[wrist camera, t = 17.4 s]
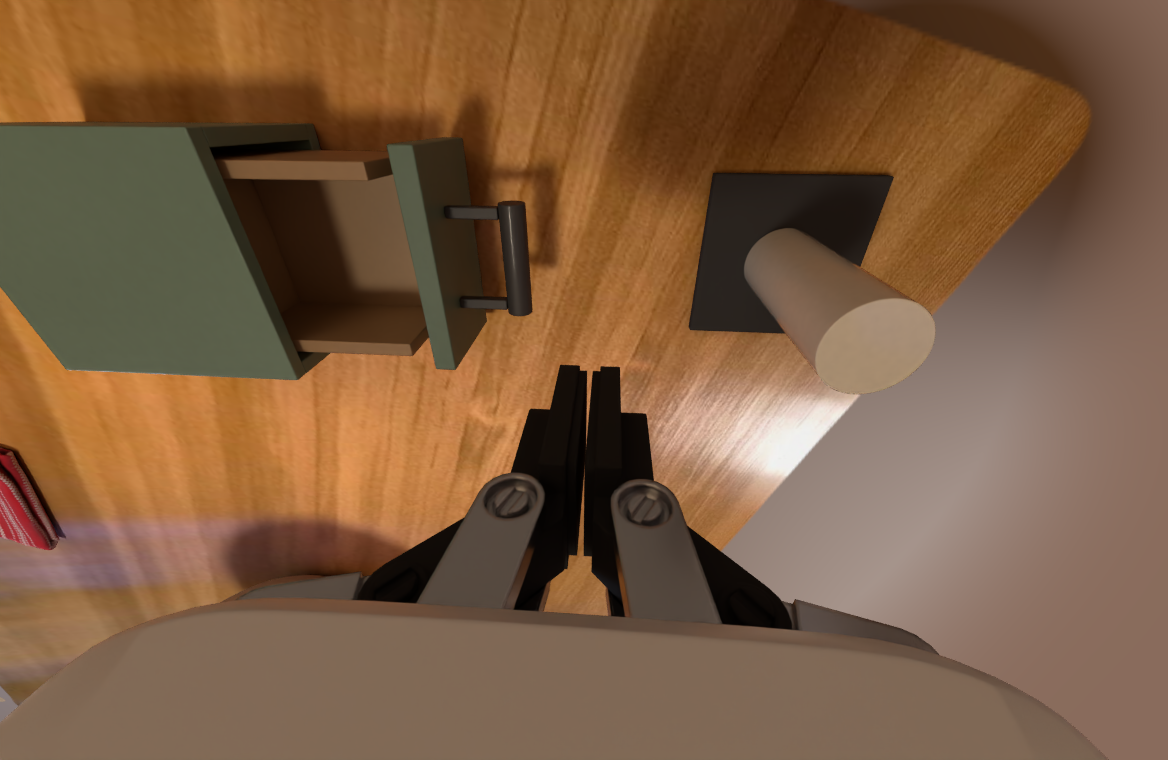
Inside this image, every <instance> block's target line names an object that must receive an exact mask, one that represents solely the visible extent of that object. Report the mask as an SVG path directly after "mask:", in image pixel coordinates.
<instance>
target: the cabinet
mask: <svg viewBox="0 0 1168 760" xmlns="http://www.w3.org/2000/svg"><path fill="white" fill-rule="evenodd" d="M238 149H250V150H321V148H320V145H319V142H318V138H317V135H316V132H315V128H314V125H313V124H306V123H181V122H11V123H0V287H1V288H2V290H3V291H4V292H5V293H6V295H7V296H8V297H9V298H10V300H11V301H12V302H13V303H14V305H15V306H16V307H17V308H18V310H19V311H20V312H21V313H22V315H23V316H24V317H25V318H26V320H27V321H28V322H29V323H30V325H31V326H32V327H33V329H34V330H35V331H36V332H37V334H38V335H39V336H40V337H41V339H42V340H43V341H44V342H45V344H46V345H47V346H48V347H49V349H50V350H51V351H52V352H53V354H54V355H55V356H56V357H57V359H58V360H59V361H60V362H61V364H62V365H63V366H64V367H65V369H67V370H81V371H104V372H126V373H149V374H171V375H193V376H216V377H238V378H261V379H283V380H298V379H300V378H301V377H302V376H303V375H304V374H305V373H307V372H308V371H309V370H311V369H312V368H313V367H314V366H315V365H317V364H318V363H319V362H320V361H322V360H323V359H324V358H325V357H326V356H328V355H329V354H330V353H325V352H300V351H296V349H295V347H294V344H293V342H292V340H291V337H290V335H289V333H288V330H287V328H286V326H285V323H284V321H283V319H282V316H281V314H280V312H279V309H278V307H277V305H276V302H275V300H274V298H273V295H272V293H271V291H270V288H269V286H268V284H267V281H266V279H265V277H264V274H263V272H262V270H261V267H260V265H259V263H258V260H257V258H256V256H255V253H254V251H253V248H252V246H251V244H250V241H249V239H248V237H247V234H246V232H245V230H244V227H243V225H242V223H241V220H240V218H239V216H238V213H237V211H236V209H235V206H234V204H233V202H232V199H231V197H230V195H229V192H228V190H227V188H226V185H225V183H224V181H223V178H222V176H221V174H220V171H219V169H218V167H217V164H216V162H215V160H214V157H213V155H212V153H211V152H215V151H226V150H238Z"/></svg>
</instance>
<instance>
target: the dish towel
mask: <svg viewBox="0 0 1168 760" xmlns="http://www.w3.org/2000/svg"><path fill="white" fill-rule="evenodd" d="M0 537H2V538H5V539H10V540H13V541H16V542H18V543H21V544H24V545H27V546H32V547H36V548H40V549H44V550H52V549H54V548H55V547H56V545H57V543H58V541H59V537H58V535H57V534H56V532H55V530H54V527H53V525H52V523H51V522H50V520H49V518H48V516H47V514H46V513H45V510H44V508H43V507H42V505H41V503H40V501H39V499H38V497H37V495H36V494H35V492H34V490H33V488H32V486H31V484H30V482H29V480H28V479H27V477H26V475H25V473H24V472H23V470H22V468H21V467H20V466H19V464H18V462H17V460H16V458H15V456H14V454H13V452H12V451H10V450H6V449H3V448H0Z"/></svg>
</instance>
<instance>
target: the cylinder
mask: <svg viewBox="0 0 1168 760" xmlns="http://www.w3.org/2000/svg"><path fill="white" fill-rule="evenodd" d="M744 275H745V279H746V282H747V284H748V285H749V287H750V288H751V289H752V291H753V292H754V293H755V294H756V296H757V297H758V298H759V300H760V301H761V302H762V304H763V305H764V306H765V307H766V309H767V310H768V311H769V313H770V314H771V315H772V317H773V318H774V319H775V320H776V322H777V323H778V324H779V326H780V327H781V328H782V330H783V331H784V332H785V333H786V335H787V336H788V337H789V339H790V340H791V341H792V343H793V344H794V345H795V346H796V348H797V349H798V350H799V352H800V353H801V354H802V356H803V357H804V358H805V359H806V361H807V362H808V363H809V365H810V366H811V367H812V369H813V370H814V371H815V372H816V374H817V375H818V376H819V378H820V379H821V380H822V381H823V382H824V383H825V384H826V385H827V386H829V387H830V388H832V389H834V390H836V391H839V392H842V393H847V394H867V393H872V392H877V391H880V390H884V389H886V388H889V387H891V386H893V385H895V384H897V383H899V382H901V381H902V380H904V379H905V378H907V377H908V376H910V375H911V374H912V373H913V372H914V371H915V370H917V369H918V368H919V367H920V365H921V364H922V363H923V362H924V361H925V359H926V358H927V356H928V355H929V353H930V351H931V349H932V347H933V344H934V340H935V335H936V328H935V323H934V320H933V318H932V315H931V314H930V313H929V311H928V310H927V309H926V308H925V307H923V306H922V305H920V304H919V303H917V302H916V301H914V300H912V299H911V298H909V297H908V296H906V295H904V294H903V293H901V292H900V291H898V290H896V289H895V288H893V287H892V286H890V285H888V284H887V283H885V282H884V281H882V280H880V279H879V278H877V277H876V276H874V275H872V274H871V273H869V272H868V271H866V270H864V269H863V268H861V267H859V266H858V265H856V264H855V263H853V262H851V261H850V260H848V259H847V258H845V257H843V256H842V255H840V254H839V253H837V252H835V251H834V250H832V249H831V248H829V247H827V246H826V245H824V244H823V243H821V242H819V241H818V240H816V239H815V238H813V237H811V236H810V235H808V234H807V233H805V232H803V231H801V230H798V229H793V228H784V229H779V230H775V231H773V232H771V233H769V234H767V235H765V236H764V237H762V238H761V239H760V240H759V241H758V242H757V243H756V244H755V245H754V246H753V247H752V249H751V250H750V252H749V253H748V255H747V258H746V261H745V265H744Z"/></svg>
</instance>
